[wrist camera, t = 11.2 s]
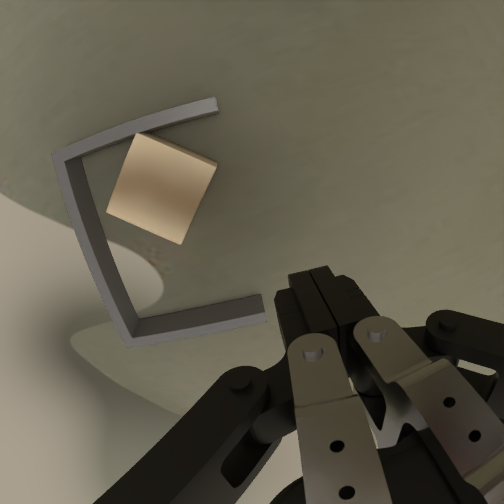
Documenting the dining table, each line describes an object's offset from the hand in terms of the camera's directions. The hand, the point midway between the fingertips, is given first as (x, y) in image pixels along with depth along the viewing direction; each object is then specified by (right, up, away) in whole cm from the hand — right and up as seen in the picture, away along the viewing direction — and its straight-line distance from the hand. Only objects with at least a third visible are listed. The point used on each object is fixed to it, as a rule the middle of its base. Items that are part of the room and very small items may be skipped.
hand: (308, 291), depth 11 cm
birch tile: (-9, +7, +12) cm, 16 cm away
